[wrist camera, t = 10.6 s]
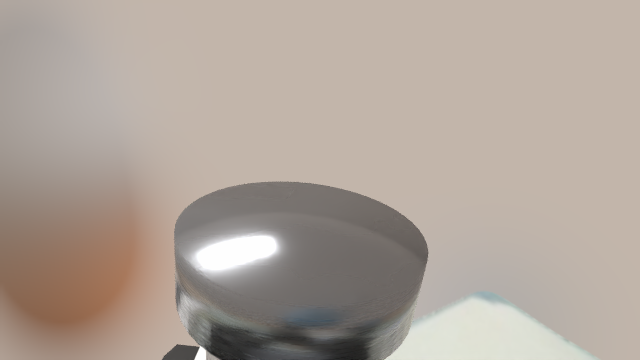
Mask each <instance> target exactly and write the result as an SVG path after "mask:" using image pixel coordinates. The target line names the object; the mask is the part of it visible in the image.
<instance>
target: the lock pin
mask: <svg viewBox="0 0 640 360" xmlns="http://www.w3.org/2000/svg"><path fill="white" fill-rule="evenodd" d="M174 240H175V282H176V283H175V287H176V288H175V289H176V304H177V311H178V314H179V317H180V320H181V322H182V323H183V325H184V327H185V328H186V330H187V332H188V333H189V334H190V335H191V337H192V338H193V339H194V340H195V341H196V342H197V343H198V344H199V345H200V346H201V347H203V348H204V349H205V350H206V360H384V359H385V358H387V357H388V356H390V355H391V354H392V353H393V352H394V351H395V350H396V349H397V348H398V347H399V346H400V345H401V344H402V342H403V341H404V339H405V337H406V336H407V334H408V332H409V329H410V327H411V324H412V320H413V316H414V312H415V307H416V304H417V300H418V295H419V291H420V288H421V284H422V280H423V276H424V272H425V268H426V264H427V258H428V248H427V244H426V241H425V239H424V237H423V235H422V234H421V232H420V231H419V229H418V228H417V227H416V226H415V225H414V224H413V223H412V222H411V221H410V220H408V219H407V218H406V217H405V216H403V215H401V214H400V213H399V212H397V211H396V210H394V209H392V208H391V207H389V206H387V205H385V204H383V203H380V202H379V201H376V200H374V199H371V198H369V197H366V196H363V195H360V194H358V193H354V192H351V191H347V190H343V189H339V188H334V187H330V186H324V185H317V184H311V183H299V182H261V183H250V184H244V185H238V186H233V187H228V188H225V189H221V190H218V191H215V192H212V193H210V194H208V195H205V196H203V197H201V198H199V199H198V200H196V201H195V202H193V203H192V204H190V205H189V206H188V207H187V208H186V209H185V210H184V211H183V212H182V213H181V215H180V216H179V218H178V220H177V222H176V225H175V231H174Z"/></svg>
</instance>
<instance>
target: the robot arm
mask: <svg viewBox="0 0 640 360" xmlns="http://www.w3.org/2000/svg"><path fill="white" fill-rule="evenodd" d="M162 360H206V350H205V349H204V348H203V347H201V346H200V347H196V346H186V345H176V346H175V347H174V348H173V349H172V350H171V351H169V352H168V353H167V354H166V355H165V356H164V358H163V359H162Z"/></svg>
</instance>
